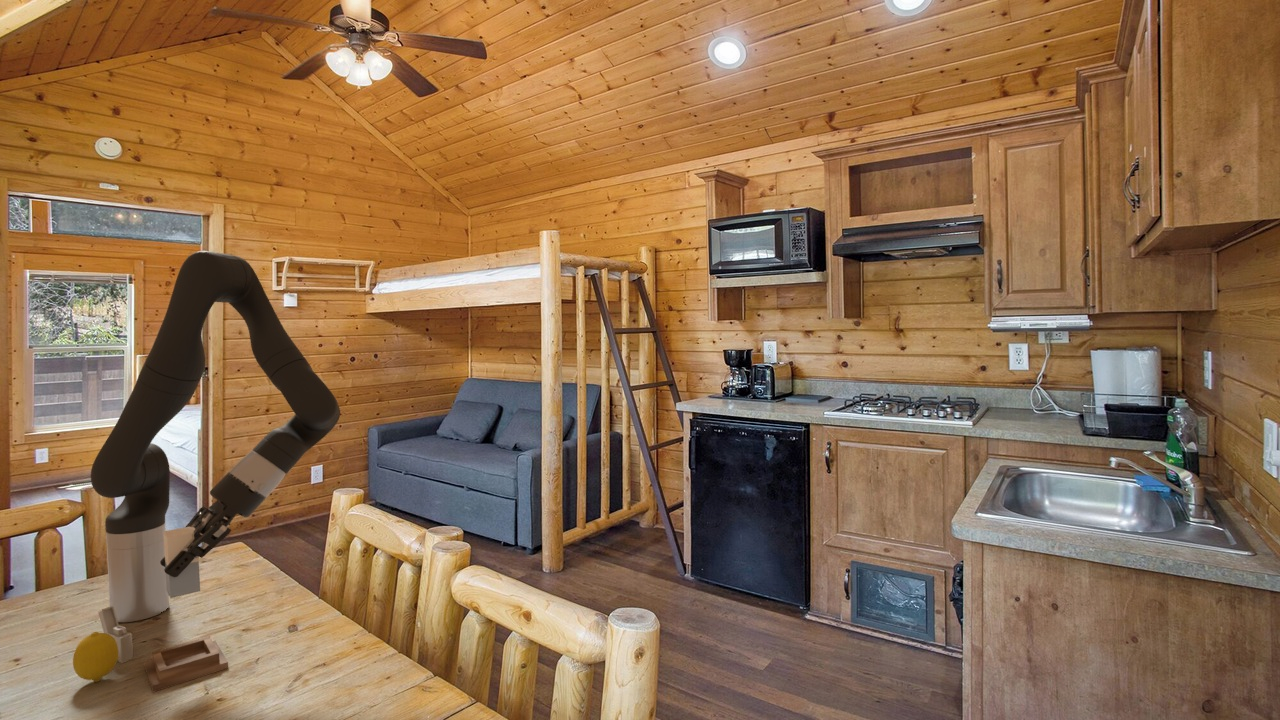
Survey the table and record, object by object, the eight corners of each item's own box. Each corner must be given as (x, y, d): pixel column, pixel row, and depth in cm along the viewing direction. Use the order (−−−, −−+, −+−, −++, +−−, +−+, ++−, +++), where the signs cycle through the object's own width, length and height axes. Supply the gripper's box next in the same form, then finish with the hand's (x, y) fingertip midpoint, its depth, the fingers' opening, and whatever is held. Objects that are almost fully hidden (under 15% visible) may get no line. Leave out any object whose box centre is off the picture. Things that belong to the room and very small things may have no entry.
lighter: (133, 658, 110) (131, 612, 109) (121, 663, 108) (119, 616, 108) (112, 648, 113) (109, 604, 112) (100, 653, 111) (97, 608, 111)
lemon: (93, 692, 99) (90, 642, 99) (65, 688, 100) (62, 639, 100) (128, 673, 105) (126, 625, 104) (101, 670, 106) (98, 622, 105)
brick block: (166, 590, 106) (163, 531, 105) (195, 584, 109) (192, 525, 108) (170, 598, 103) (167, 537, 102) (200, 591, 106) (197, 531, 105)
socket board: (144, 667, 107) (143, 652, 107) (215, 646, 114) (215, 632, 113) (152, 691, 99) (152, 676, 99) (228, 667, 106) (227, 653, 106)
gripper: (221, 464, 115) (140, 547, 107) (240, 477, 105) (151, 571, 97) (256, 488, 119) (180, 570, 111) (278, 503, 109) (195, 594, 101)
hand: (167, 570), depth 104 cm, fingers closed on brick block, 4 cm apart
